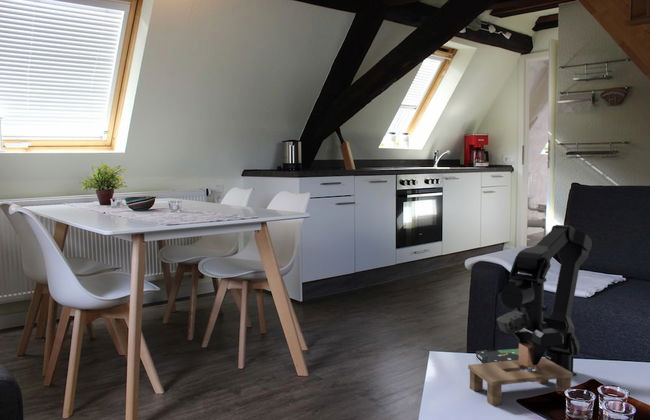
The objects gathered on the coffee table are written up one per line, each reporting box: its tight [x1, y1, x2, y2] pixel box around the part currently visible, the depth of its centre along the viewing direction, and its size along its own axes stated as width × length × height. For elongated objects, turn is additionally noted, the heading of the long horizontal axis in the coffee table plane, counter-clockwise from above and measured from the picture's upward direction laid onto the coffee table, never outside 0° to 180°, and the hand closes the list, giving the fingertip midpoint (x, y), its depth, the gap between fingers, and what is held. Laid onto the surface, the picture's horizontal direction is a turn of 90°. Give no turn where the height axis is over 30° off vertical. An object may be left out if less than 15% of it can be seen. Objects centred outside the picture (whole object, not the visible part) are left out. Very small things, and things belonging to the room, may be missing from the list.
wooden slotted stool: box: [467, 356, 574, 406], centre depth 148 cm, size 22×12×6 cm, turn 103°
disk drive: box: [475, 348, 519, 364], centre depth 170 cm, size 10×3×15 cm
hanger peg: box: [518, 342, 543, 383], centre depth 148 cm, size 4×4×9 cm
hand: (530, 361), depth 148 cm, fingers closed on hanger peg, 4 cm apart
